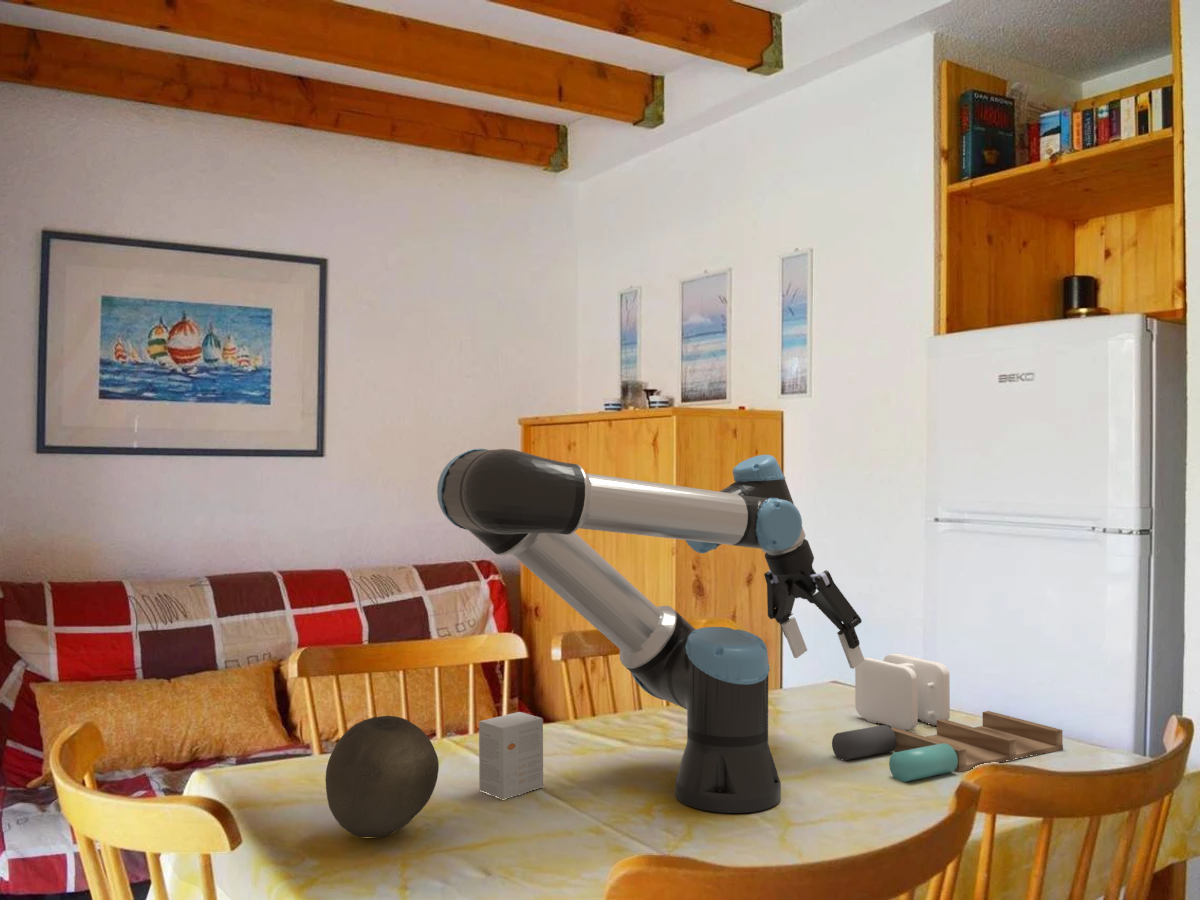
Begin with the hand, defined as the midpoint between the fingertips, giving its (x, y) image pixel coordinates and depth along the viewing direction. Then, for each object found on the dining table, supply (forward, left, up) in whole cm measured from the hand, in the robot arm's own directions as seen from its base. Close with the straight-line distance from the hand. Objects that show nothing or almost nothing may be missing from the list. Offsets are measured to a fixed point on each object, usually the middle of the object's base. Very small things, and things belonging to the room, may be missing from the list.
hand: (828, 659), depth 171 cm
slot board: (+21, -12, -15) cm, 29 cm away
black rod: (+3, -5, -15) cm, 16 cm away
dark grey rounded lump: (-77, -1, -15) cm, 79 cm away
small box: (-55, +7, -15) cm, 58 cm away
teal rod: (+3, -18, -15) cm, 24 cm away
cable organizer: (+24, +7, -15) cm, 29 cm away
